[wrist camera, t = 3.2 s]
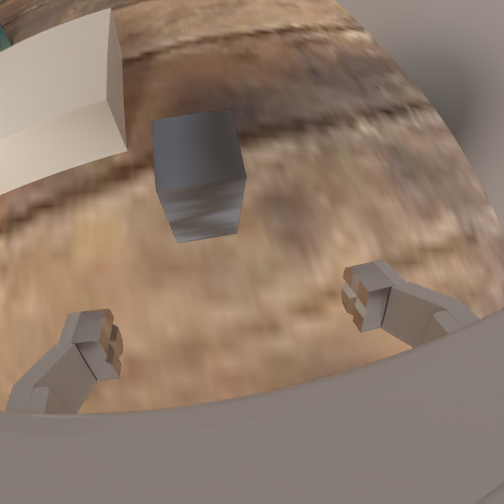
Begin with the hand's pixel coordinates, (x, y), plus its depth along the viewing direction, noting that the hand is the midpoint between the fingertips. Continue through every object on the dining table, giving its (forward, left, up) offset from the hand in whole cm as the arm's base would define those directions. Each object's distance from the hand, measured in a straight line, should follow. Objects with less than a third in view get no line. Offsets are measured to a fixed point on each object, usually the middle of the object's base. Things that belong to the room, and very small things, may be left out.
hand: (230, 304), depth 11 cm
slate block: (0, +10, -15) cm, 18 cm away
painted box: (-15, +25, -15) cm, 33 cm away
